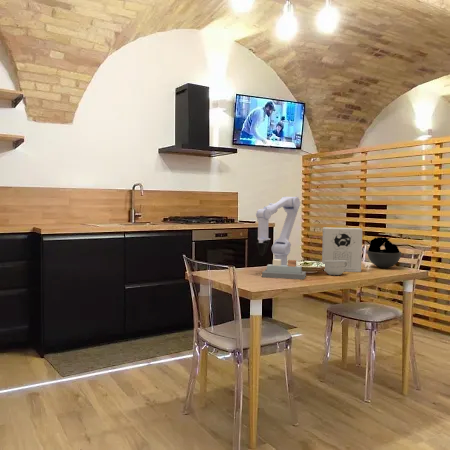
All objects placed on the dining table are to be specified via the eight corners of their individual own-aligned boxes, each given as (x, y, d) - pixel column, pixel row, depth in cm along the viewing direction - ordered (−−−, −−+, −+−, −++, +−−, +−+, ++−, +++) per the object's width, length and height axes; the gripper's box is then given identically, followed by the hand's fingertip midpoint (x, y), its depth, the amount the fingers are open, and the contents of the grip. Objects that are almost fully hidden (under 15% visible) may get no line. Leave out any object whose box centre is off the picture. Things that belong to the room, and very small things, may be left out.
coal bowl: (375, 264, 303) (376, 235, 302) (406, 267, 289) (407, 237, 288) (360, 267, 288) (361, 237, 287) (392, 271, 274) (393, 239, 273)
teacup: (329, 276, 253) (329, 261, 253) (321, 273, 264) (321, 259, 263) (353, 276, 256) (353, 261, 255) (344, 272, 266) (344, 258, 266)
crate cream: (273, 264, 254) (274, 259, 254) (281, 264, 253) (281, 259, 253) (272, 265, 250) (272, 260, 250) (280, 265, 249) (280, 260, 249)
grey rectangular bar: (266, 271, 250) (266, 265, 250) (268, 270, 255) (268, 264, 255) (300, 273, 246) (300, 267, 245) (301, 272, 250) (301, 265, 250)
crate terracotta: (288, 265, 252) (288, 259, 252) (296, 265, 251) (296, 260, 250) (287, 266, 248) (287, 260, 248) (295, 266, 247) (295, 261, 247)
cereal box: (358, 270, 277) (360, 228, 276) (361, 272, 270) (362, 228, 268) (321, 269, 280) (322, 227, 278) (323, 271, 272) (324, 228, 271)
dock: (265, 273, 259) (265, 269, 258) (305, 276, 253) (305, 271, 253) (261, 277, 248) (262, 272, 248) (303, 279, 242) (303, 274, 242)
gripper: (268, 231, 251) (267, 256, 252) (272, 229, 265) (272, 253, 266) (255, 231, 253) (254, 256, 254) (260, 229, 267) (259, 253, 268)
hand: (262, 254), depth 260 cm, fingers open, 7 cm apart
